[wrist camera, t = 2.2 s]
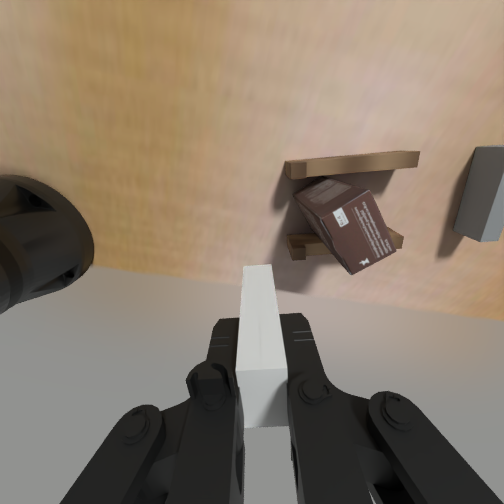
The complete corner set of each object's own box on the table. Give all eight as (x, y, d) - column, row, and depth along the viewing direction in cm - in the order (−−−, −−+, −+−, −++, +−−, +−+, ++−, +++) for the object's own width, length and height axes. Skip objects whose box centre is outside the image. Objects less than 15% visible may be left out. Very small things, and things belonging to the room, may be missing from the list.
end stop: (452, 230, 30) (480, 242, 27) (476, 146, 26) (512, 146, 23) (468, 229, 30) (498, 240, 27) (494, 145, 26) (533, 144, 23)
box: (345, 213, 30) (400, 253, 19) (313, 232, 31) (347, 279, 20) (324, 171, 28) (372, 188, 17) (290, 192, 29) (314, 221, 18)
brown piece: (287, 245, 31) (292, 260, 27) (285, 161, 27) (291, 163, 23) (386, 238, 31) (406, 252, 27) (399, 150, 27) (427, 151, 22)
